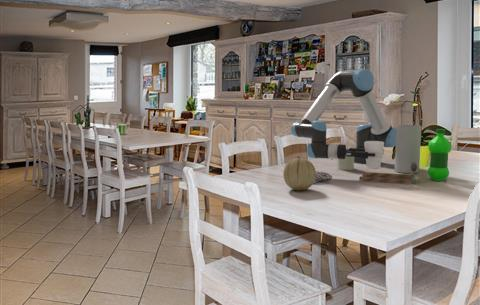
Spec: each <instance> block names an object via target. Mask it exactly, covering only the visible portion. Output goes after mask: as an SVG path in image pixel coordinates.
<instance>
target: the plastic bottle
mask: <svg viewBox="0 0 480 305" xmlns="http://www.w3.org/2000/svg"><path fill="white" fill-rule="evenodd" d="M435 134H436V136H435V137H433V138H432V139H431V140H429V141H428V144H427V145H428V150H429V151H430V157H429V158H430V159H429V160H430V162H429V167H428V169H427V174H428V176H429V178H431V179H432V180H433V181H438V182H439V181H440V182H441V181H442V182H443V181H444V180H446V179H447V178H448V177H449V175H450V171H449V170H450V169H449V168H448V165H449V164H448V162H449V153H450V152H451V150H452V147H453V146H452V143H451V141H450V140H449V139H448V138H446V136H445V134H446V129H445V128H444V129H443V128H436V129H435Z"/></svg>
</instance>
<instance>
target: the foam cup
mask: <svg viewBox="0 0 480 305" xmlns="http://www.w3.org/2000/svg"><path fill="white" fill-rule="evenodd" d="M364 147H365V152H383V149H384V148H385V147H384V142H381V141H366V142H364ZM382 159H383V157H382V158H375V157H368V159H366V163H365V164H366V168H367V169H368V170H369V169H370V170H379V169H381V165H382Z"/></svg>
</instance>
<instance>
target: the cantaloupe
mask: <svg viewBox="0 0 480 305" xmlns="http://www.w3.org/2000/svg"><path fill="white" fill-rule="evenodd" d="M316 178H317V171H316V168H315V166H314V164H313V163H312V162H311V161H310V160H309V159H305V158H302V157H300V156H297V157H296V158H292V159H290V160H289V161H288V162H287V163H286V164H285V167H284V170H283V179H284V182H285V184H286V185H287V186H288V187H289V188H290V189H292V190H293V191H294V190H295V191H298V192H299V191H300V192H302V191H305V190H308V189H309V188H311V187H312V186H313V185H314V183H315V181H316Z"/></svg>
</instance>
